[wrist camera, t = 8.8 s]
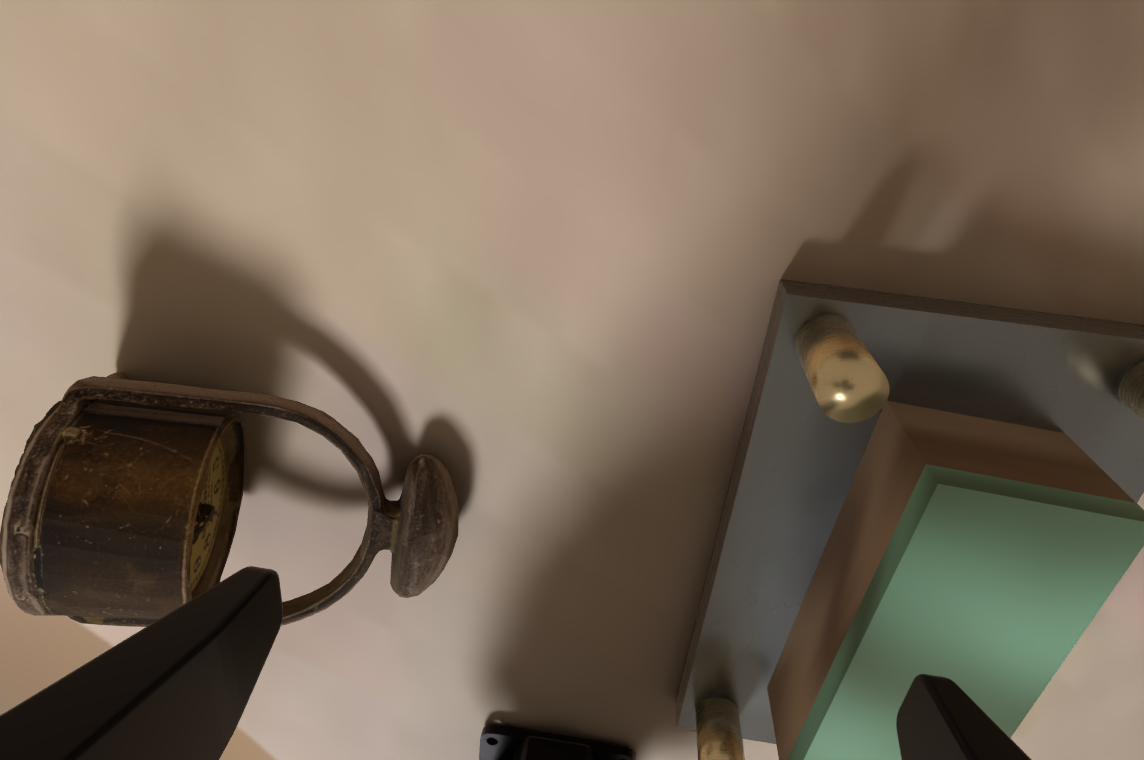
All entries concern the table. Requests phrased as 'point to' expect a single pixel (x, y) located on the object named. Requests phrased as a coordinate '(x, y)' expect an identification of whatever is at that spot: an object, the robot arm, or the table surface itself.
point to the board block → (949, 579)
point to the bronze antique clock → (181, 504)
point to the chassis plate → (840, 437)
